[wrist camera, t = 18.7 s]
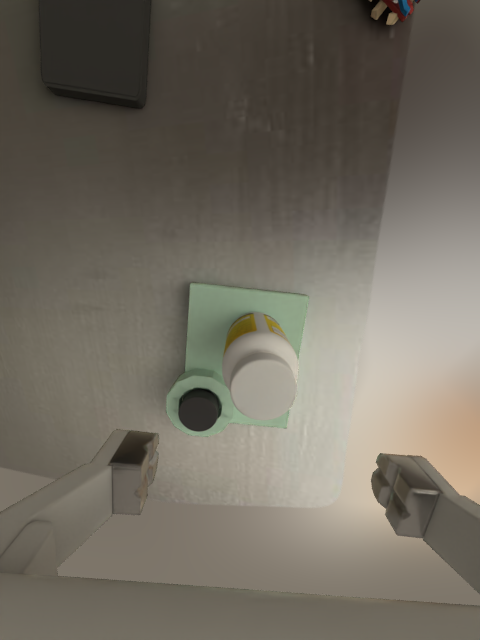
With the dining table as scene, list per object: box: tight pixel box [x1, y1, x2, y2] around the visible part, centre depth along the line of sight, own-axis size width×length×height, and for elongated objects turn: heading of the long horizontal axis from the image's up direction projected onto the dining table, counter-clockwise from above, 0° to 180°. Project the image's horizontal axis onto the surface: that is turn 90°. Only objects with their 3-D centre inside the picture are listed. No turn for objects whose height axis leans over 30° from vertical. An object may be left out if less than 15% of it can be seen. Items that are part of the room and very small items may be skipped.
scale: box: [166, 282, 309, 437], centre depth 25 cm, size 12×15×3 cm
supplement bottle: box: [222, 312, 299, 420], centre depth 19 cm, size 5×5×10 cm
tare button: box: [178, 389, 219, 432], centre depth 24 cm, size 4×4×2 cm
